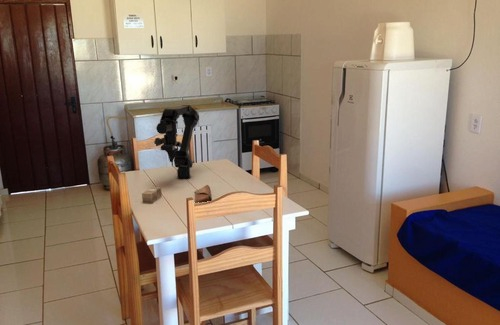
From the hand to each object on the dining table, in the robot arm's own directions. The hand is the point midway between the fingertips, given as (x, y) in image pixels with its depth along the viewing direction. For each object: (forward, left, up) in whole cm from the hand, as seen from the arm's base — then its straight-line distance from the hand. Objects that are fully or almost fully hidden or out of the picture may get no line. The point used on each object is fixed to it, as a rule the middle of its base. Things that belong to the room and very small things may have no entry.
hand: (171, 162), depth 233 cm
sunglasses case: (-17, +21, -14) cm, 30 cm away
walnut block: (+6, +18, -11) cm, 22 cm away
